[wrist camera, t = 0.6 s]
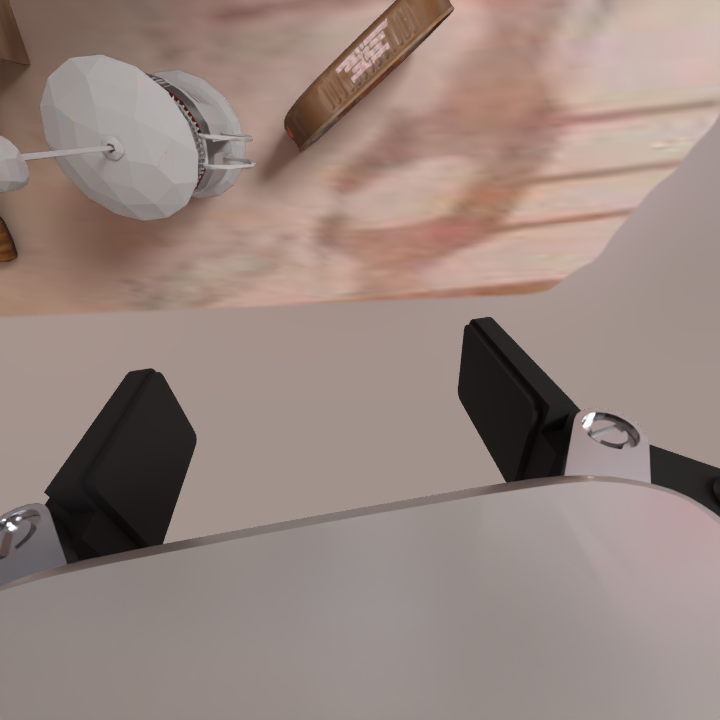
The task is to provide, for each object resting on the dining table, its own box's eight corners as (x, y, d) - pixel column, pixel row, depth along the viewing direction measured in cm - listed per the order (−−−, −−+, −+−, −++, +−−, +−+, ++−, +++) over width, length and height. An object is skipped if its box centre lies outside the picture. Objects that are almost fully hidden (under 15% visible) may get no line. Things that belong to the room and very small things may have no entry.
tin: (303, 153, 33) (302, 160, 26) (280, 121, 31) (273, 119, 24) (435, 31, 29) (476, 1, 22) (417, -13, 27) (455, -60, 20)
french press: (112, 61, 27) (-445, -130, 7) (260, 80, 29) (161, -30, 9) (145, 194, 33) (-113, 305, 12) (268, 202, 35) (218, 310, 14)
